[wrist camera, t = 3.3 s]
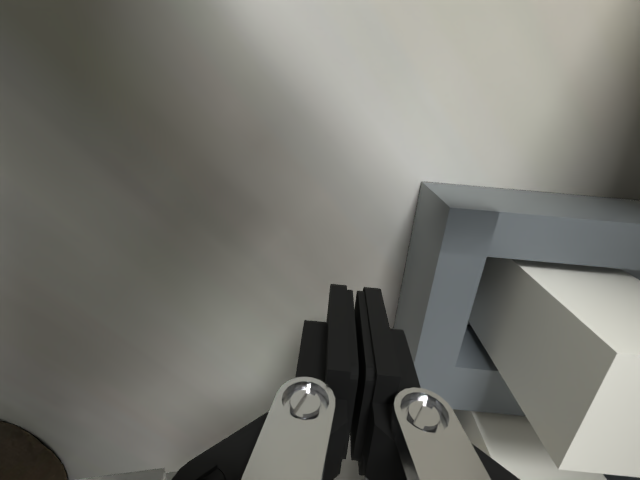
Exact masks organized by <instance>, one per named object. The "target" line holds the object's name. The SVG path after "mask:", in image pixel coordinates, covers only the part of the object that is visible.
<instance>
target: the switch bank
mask: <svg viewBox="0 0 640 480" xmlns="http://www.w3.org/2000/svg"><path fill="white" fill-rule="evenodd" d="M487 257H496V258H507V259H518V260H529V261H540V262H551V263H562V264H574V265H585V266H596V267H607V268H618V269H621V270H623V271H625V272H627V273H628V274H630V275H632V276H633V277H635V278H637V279H639V280H640V200H630V199H618V198H606V197H595V196H583V195H572V194H560V193H549V192H537V191H526V190H514V189H502V188H491V187H479V186H468V185H456V184H445V183H433V182H421V187H420V193H419V198H418V203H417V208H416V213H415V219H414V224H413V229H412V234H411V240H410V245H409V250H408V255H407V260H406V266H405V271H404V276H403V281H402V287H401V292H400V297H399V302H398V307H397V313H396V318H395V323H394V328H393V329H401V330H403V331H404V333H405V336H406V339H407V342H408V346H409V349H410V353H411V356H412V359H413V363H414V366H415V370H416V373H417V376H418V380H419V383H420V387H421V388H423V389H426V390H429V391H432V392H434V393H435V394H437V395H439V396H440V397H442V398H443V399H444V400H445V401H446V402H447V403H448V404H449V405H450V407H451V408H452V409H455V410H466V411H476V412H486V413H497V414H507V415H517V416H525V414H524V412H523V411H522V409H521V407H520V406H519V404H518V402H517V401H516V399H515V397H514V396H513V394H512V392H511V391H510V389H509V387H508V386H507V384H506V383H505V381H504V379H503V378H502V376H501V374H500V373H499V371H498V369H497V368H496V366H495V364H494V363H493V361H492V359H491V358H490V356H489V354H488V353H487V351H486V349H485V348H484V346H483V345H482V343H481V341H480V340H479V338H478V336H477V335H476V333H475V331H474V330H473V328H472V326H471V325H470V323H469V321H468V320H469V317H470V313H471V310H472V306H473V303H474V299H475V296H476V293H477V289H478V286H479V282H480V279H481V275H482V272H483V268H484V265H485V261H486V258H487ZM603 475H604V476H605V478H606V479H607V480H640V478H639V477H629V476H619V475H609V474H603ZM365 480H368V479H367V478H366V477H365Z"/></svg>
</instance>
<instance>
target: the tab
mask: <svg viewBox="0 0 640 480" xmlns="http://www.w3.org/2000/svg"><path fill="white" fill-rule="evenodd" d="M468 321H469V323H470V325H471V326H472V328H473V330H474V331H475V333H476V335H477V336H478V338H479V340H480V341H481V343H482V345H483V346H484V348H485V349H486V351H487V353H488V354H489V356H490V358H491V359H492V361H493V363H494V364H495V366H496V368H497V369H498V371H499V373H500V374H501V376H502V378H503V379H504V381H505V383H506V384H507V386H508V387H509V389H510V391H511V392H512V394H513V396H514V397H515V399H516V401H517V402H518V404H519V406H520V407H521V409H522V411H523V412H524V414H525V416H526V417H527V419H528V421H529V422H530V424H531V425H532V427H533V429H534V430H535V432H536V434H537V435H538V437H539V439H540V440H541V442H542V444H543V445H544V447H545V449H546V450H547V452H548V454H549V455H550V457H551V459H552V460H553V462H554V463H555V465H556V467H557V468H558V469H559V470H569V471H579V472H589V473H599V474H609V475H619V476H629V477H639V478H640V280H639V279H637V278H635V277H633V276H632V275H630V274H628V273H627V272H625V271H623V270H621V269H618V268H607V267H596V266H585V265H574V264H562V263H551V262H540V261H529V260H518V259H507V258H496V257H487V258H486V261H485V265H484V268H483V272H482V275H481V279H480V282H479V286H478V289H477V293H476V296H475V299H474V303H473V306H472V310H471V313H470V317H469V320H468Z"/></svg>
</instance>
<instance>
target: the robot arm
mask: <svg viewBox="0 0 640 480" xmlns="http://www.w3.org/2000/svg"><path fill="white" fill-rule="evenodd" d="M349 436H350V441H351V459H352V460H357V461H358V465H359V475H365V477H366V478H367V479H368V480H520V479H519V478H517V477H516V476H515V475H513V474H512V473H511V472H509V471H508V470H507V469H505V468H504V467H503V466H501V465H500V464H499V463H497V462H496V461H495V460H493V459H492V458H491V457H489V456H488V455H487V454H485V453H484V452H483V451H481V450H480V449H479V448H477V447H476V446H475V445H473V444H472V443H471V442H470V440H469V438H468V436H467V435H466V433H465V431H464V429H463V427H462V426H461V424H460V422H459V420H458V418H457V416H456V415H455V413H454V411H453V409H452V408H451V407H450V405H449V404H448V403H447V402H446V401H445V400H444V399H443V398H442V397H440V396H439V395H437V394H435V393H434V392H432V391H429V390H426V389H423V388H421V387H420V383H419V380H418V376H417V373H416V370H415V366H414V363H413V359H412V356H411V353H410V349H409V346H408V342H407V339H406V336H405V333H404V331H403V330H401V329H390V327H389V323H388V318H387V314H386V310H385V306H384V301H383V297H382V293H381V289H378V288H367V287H364V288H363V291H357V295H356V302H355V309H354V301H353V290H347V286H346V285H335V284H331V285H330V294H329V304H328V314H327V322H317V321H307V320H305V321H304V327H303V333H302V339H301V346H300V352H299V359H298V365H297V372H296V378H293V379H291V380H289V381H287V382H285V383H284V384H283V385H282V386H281V387H280V388H279V390H278V391H277V393H276V396H275V398H274V401H273V403H272V405H271V408H270V410H269V412H267V413H266V414H264V415H262V416H261V417H259V418H258V419H256V420H254V421H253V422H251V423H250V424H248V425H246V426H245V427H243V428H242V429H240V430H238V431H237V432H235V433H234V434H232V435H230V436H229V437H227V438H226V439H224V440H222V441H221V442H219V443H218V444H216V445H215V446H213V447H211V448H210V449H208V450H207V451H205V452H203V453H202V454H200V455H199V456H197V457H195V458H194V459H192V460H191V461H189V462H188V463H187V464H185V465H184V466H183V467H182V468H180V469H179V471H177V472H170V473H166V472H165V468H160V469H152V470H145V471H137V472H129V473H122V474H114V475H107V476H99V477H91V478H84V479H76V480H333V479H334V478H335V477H336V476H337V475H339V474H340V468H341V462H342V459H346V455H347V448H348V442H349Z"/></svg>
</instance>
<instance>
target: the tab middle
mask: <svg viewBox="0 0 640 480" xmlns="http://www.w3.org/2000/svg"><path fill="white" fill-rule="evenodd" d="M453 411H454V413H455V415H456V416H457V418H458V420H459V422H460V424H461V426H462V427H463V429H464V431H465V433H466V435H467V436H468V438H469V440H470V442H471V443H472V444H473V445H475V446H476V447H477V448H479V449H480V450H481V451H483V452H484V453H485V454H487V455H488V456H489V457H491V458H492V459H493V460H495V461H496V462H497V463H499V464H500V465H501V466H503V467H504V468H505V469H507V470H508V471H509V472H511V473H512V474H513V475H515V476H516V477H517V478H519V479H520V480H607V479H606V478H605V476H604V475H603V474H599V473H589V472H579V471H569V470H559V469H558V468H557V467H556V465H555V463H554V462H553V460H552V459H551V457H550V455H549V454H548V452H547V450H546V449H545V447H544V445H543V444H542V442H541V440H540V439H539V437H538V435H537V434H536V432H535V430H534V429H533V427H532V425H531V424H530V422H529V421H528V419H527V417H526V416H517V415H507V414H497V413H486V412H476V411H466V410H455V409H453Z"/></svg>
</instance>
